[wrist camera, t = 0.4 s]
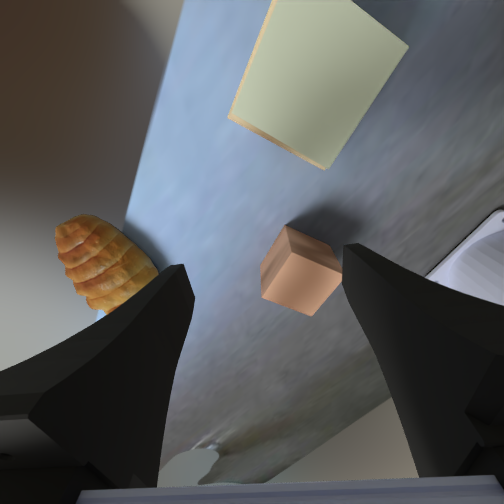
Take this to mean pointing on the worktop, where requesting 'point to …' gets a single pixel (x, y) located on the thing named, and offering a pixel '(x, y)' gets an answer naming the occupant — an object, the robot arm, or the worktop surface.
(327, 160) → the sage slab
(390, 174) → the worktop surface
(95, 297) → the pastry
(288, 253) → the terracotta cube
